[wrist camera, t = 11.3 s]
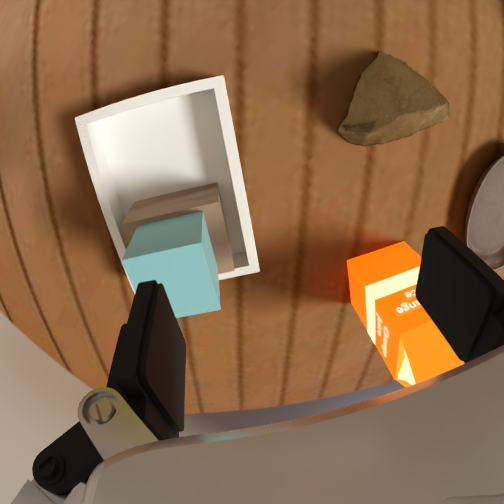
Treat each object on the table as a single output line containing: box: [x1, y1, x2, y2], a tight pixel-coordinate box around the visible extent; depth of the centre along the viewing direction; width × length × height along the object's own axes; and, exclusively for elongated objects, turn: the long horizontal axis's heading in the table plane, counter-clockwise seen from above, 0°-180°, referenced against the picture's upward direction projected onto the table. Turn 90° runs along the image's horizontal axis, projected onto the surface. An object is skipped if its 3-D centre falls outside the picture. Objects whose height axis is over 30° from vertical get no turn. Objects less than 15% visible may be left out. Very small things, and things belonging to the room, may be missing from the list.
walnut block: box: [121, 183, 234, 274], centre depth 31 cm, size 7×9×6 cm
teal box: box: [122, 211, 221, 318], centre depth 26 cm, size 6×6×6 cm
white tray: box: [75, 75, 260, 293], centre depth 31 cm, size 20×14×4 cm
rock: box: [338, 52, 450, 146], centre depth 27 cm, size 11×9×10 cm
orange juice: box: [347, 241, 465, 387], centre depth 33 cm, size 8×9×20 cm
